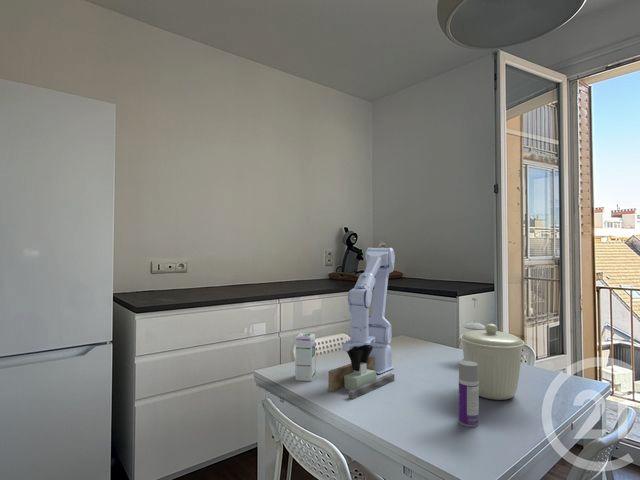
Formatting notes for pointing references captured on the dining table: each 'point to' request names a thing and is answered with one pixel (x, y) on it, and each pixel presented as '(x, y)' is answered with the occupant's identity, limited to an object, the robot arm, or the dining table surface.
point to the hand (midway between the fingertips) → (359, 369)
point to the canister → (494, 360)
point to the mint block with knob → (359, 377)
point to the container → (468, 394)
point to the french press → (474, 323)
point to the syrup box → (305, 357)
